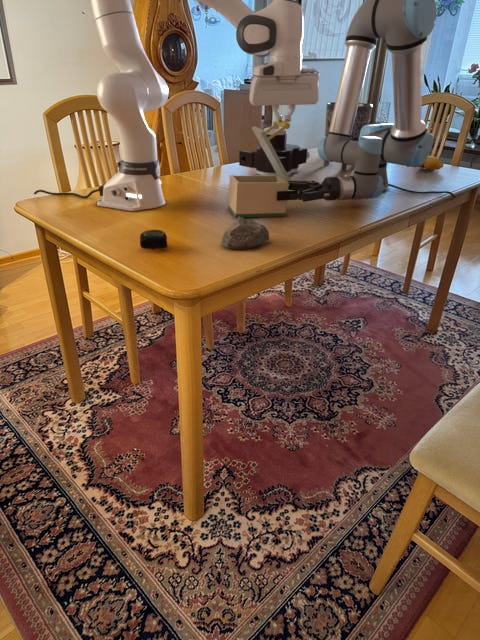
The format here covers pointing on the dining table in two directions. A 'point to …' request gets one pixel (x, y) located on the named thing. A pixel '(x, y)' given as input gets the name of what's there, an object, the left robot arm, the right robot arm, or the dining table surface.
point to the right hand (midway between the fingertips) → (272, 191)
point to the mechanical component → (286, 153)
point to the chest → (256, 196)
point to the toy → (432, 164)
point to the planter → (360, 121)
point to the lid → (269, 148)
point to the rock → (245, 234)
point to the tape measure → (153, 239)
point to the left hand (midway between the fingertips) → (283, 121)
